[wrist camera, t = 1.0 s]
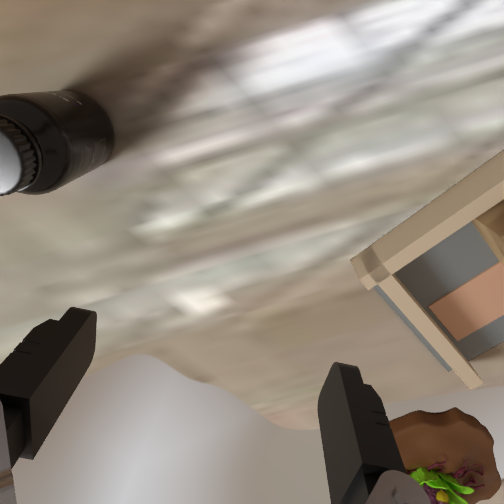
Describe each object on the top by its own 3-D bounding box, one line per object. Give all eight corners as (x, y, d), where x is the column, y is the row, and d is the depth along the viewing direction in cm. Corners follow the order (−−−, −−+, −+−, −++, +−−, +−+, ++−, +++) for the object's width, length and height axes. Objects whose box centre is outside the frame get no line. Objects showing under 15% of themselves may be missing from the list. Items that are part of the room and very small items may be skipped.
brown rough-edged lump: (326, 430, 49) (342, 521, 39) (480, 394, 46) (541, 485, 36) (363, 514, 57) (385, 609, 47) (496, 489, 53) (550, 586, 43)
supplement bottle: (85, 74, 31) (-11, 74, 20) (131, 149, 34) (67, 185, 23) (22, 112, 32) (-98, 131, 22) (71, 181, 35) (-16, 229, 24)
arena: (520, 137, 32) (553, 145, 28) (604, 280, 38) (640, 302, 34) (350, 260, 38) (359, 279, 34) (445, 368, 43) (462, 394, 40)
